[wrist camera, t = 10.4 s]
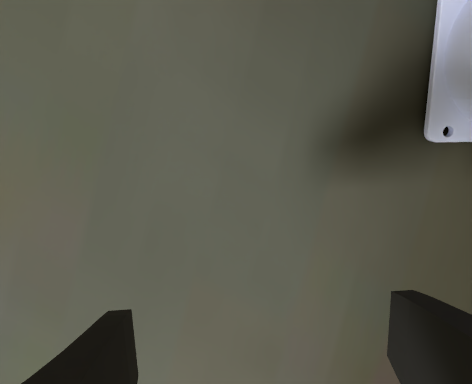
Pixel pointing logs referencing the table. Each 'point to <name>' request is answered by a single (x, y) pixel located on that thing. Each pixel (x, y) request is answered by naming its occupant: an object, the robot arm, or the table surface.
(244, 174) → the table surface
